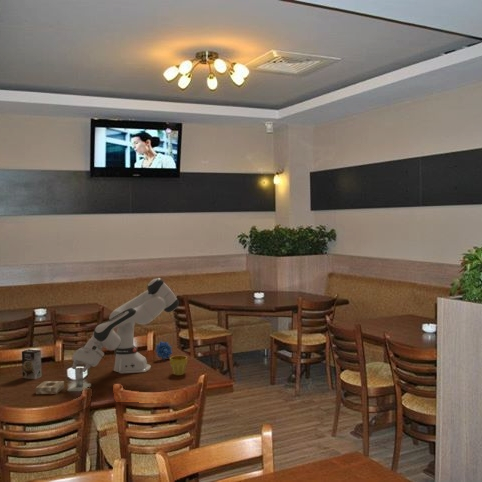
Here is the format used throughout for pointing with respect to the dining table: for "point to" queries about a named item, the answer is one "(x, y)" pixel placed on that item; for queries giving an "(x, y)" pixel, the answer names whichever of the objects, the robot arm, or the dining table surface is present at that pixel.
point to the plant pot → (178, 364)
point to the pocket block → (50, 387)
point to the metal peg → (79, 377)
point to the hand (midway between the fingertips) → (77, 370)
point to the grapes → (163, 350)
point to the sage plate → (74, 388)
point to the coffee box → (31, 364)
